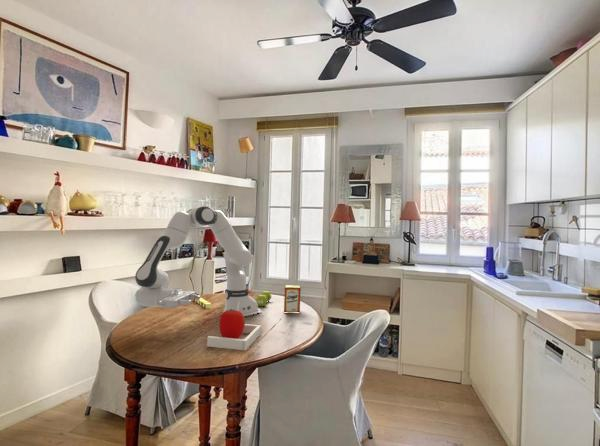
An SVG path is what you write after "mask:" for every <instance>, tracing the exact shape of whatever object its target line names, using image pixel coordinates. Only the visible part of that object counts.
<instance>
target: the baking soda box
mask: <svg viewBox="0 0 600 446" xmlns="http://www.w3.org/2000/svg"><path fill="white" fill-rule="evenodd" d="M283 298H284V299H283V300H284V302H283V303H284V304H283V305H284V306H283V313H284V312H301V285H294V284H291V285H289V284H285V285H284V297H283Z"/></svg>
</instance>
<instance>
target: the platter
mask: <svg viewBox="0 0 600 446" xmlns="http://www.w3.org/2000/svg"><path fill="white" fill-rule="evenodd" d="M193 302H194V303H196V304H198V305H199V306H200V307H203V308H204V309H205V310H207V309H212V303H211V302H209V301H207V300H206V299H204V298H203V297H200V299H199V300H196V299H193Z"/></svg>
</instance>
